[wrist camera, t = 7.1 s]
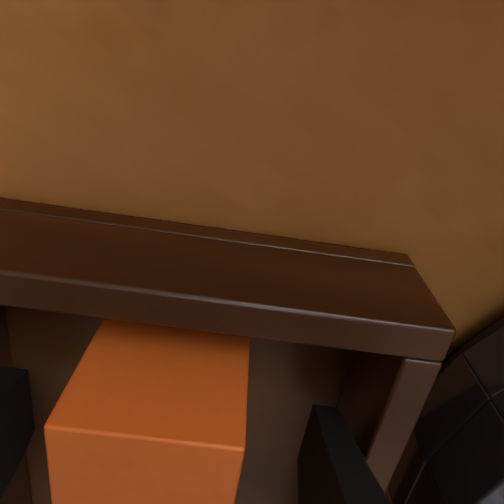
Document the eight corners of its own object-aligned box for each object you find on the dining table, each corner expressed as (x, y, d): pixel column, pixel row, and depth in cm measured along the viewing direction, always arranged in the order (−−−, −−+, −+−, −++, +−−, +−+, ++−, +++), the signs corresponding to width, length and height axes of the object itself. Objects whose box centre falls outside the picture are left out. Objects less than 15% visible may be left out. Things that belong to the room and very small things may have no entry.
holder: (291, 587, 18) (297, 690, 15) (30, 561, 17) (-14, 662, 14) (408, 253, 11) (459, 331, 8) (-29, 193, 10) (-138, 252, 7)
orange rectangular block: (227, 447, 13) (214, 602, 9) (115, 434, 13) (59, 588, 9) (250, 312, 11) (246, 450, 7) (115, 295, 11) (41, 426, 7)
